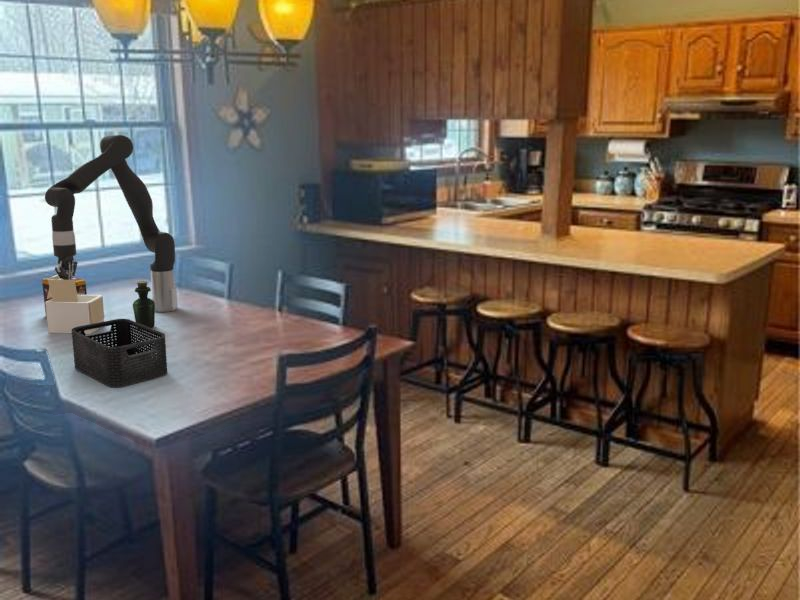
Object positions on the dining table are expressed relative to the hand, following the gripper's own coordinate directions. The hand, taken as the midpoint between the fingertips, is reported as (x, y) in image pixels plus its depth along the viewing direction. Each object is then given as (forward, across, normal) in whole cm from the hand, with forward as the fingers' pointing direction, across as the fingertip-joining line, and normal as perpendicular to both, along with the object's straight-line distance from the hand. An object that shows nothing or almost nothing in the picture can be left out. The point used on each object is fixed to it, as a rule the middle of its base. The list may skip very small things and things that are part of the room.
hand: (68, 289), depth 264 cm
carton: (+17, +5, +1) cm, 18 cm away
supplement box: (+17, +22, +13) cm, 31 cm away
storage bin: (+17, -40, -35) cm, 56 cm away
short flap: (0, +5, +8) cm, 9 cm away
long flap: (0, -2, +1) cm, 2 cm away
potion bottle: (+17, +9, -24) cm, 31 cm away
